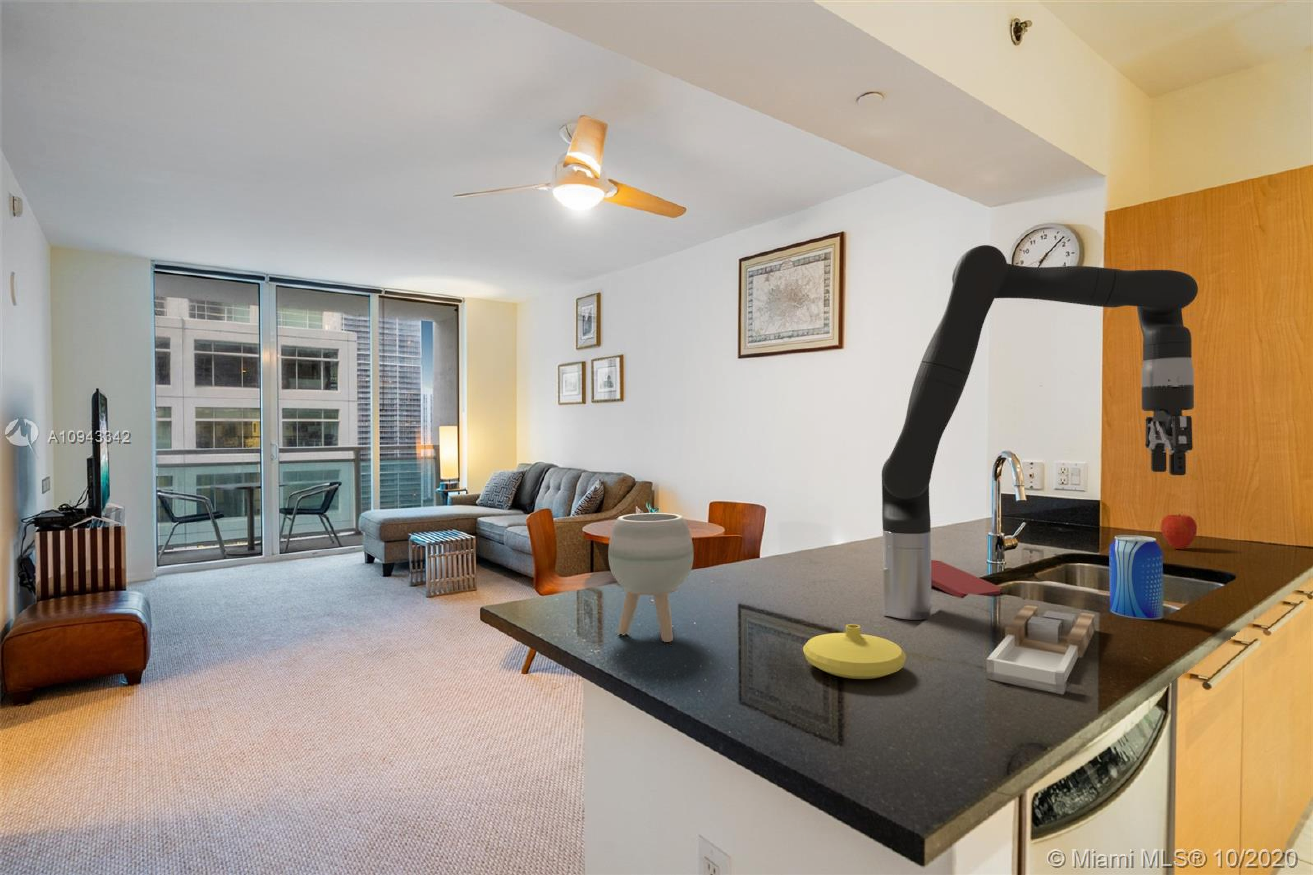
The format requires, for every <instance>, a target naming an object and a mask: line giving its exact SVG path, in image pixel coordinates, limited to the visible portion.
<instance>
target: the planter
mask: <svg viewBox="0 0 1313 875" xmlns="http://www.w3.org/2000/svg"><path fill="white" fill-rule="evenodd" d="M689 528H690V527H689V525H688V524H687V521H686V519H685V518H684V516H683V515H681V514H676V513H669V512H668V513H665V512H646V513H645V512H644V513H643V512H642V513H641V512H640V513H631V514H624V515H621V516H618V518H616V521H615V522H614V525H613V527H612V530H611V531H610V536H609V537H610V538H609V543H608V549H607V550H608V551H607V552H608V553H607V554H608V565H609V569H610V571H611V573H612V576H613V577H614V579H615V580H616V581H617V583H619V585H620V586H621V587H622V588H623V589H625V591H626V592H625V598H624V602H623V607H622V611H621V615H620V619H619V623H618V628H617V634H619V633H621V634H627V633H628V634H629V633H630V629H631V626H632V624H633V623H632V622H633V620H634V617H635V613H636V609H637V606H638V602H639V599H640V596H653V600H654V605H655V610H656V617H657V623H658V627H659V633H660V638H661V640H662V642H663V641H664V642H663V643H665V642H670V643H672V642H671V641H674V640H673V639H674V633H673V626H672V623H673V622H672V614H671V605H670V598H669V594H670V593H674V592H676V591H678V589H679V587H680V586H682V584H683V583H684V582H685V581H686V580H687V578H688V576H689V575H690V573H691V571H692V568H693V565H694V544H693V539H692V538H693V537H692V535H691V532H690V529H689ZM628 634H627V635H628Z"/></svg>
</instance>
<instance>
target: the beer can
mask: <svg viewBox="0 0 1313 875" xmlns="http://www.w3.org/2000/svg"><path fill="white" fill-rule="evenodd" d="M1108 550H1109V552H1108V554H1109V558H1108V559H1109V564H1108V565H1109V566H1108V567H1109V568H1108V569H1109V611H1110V613H1112V614H1115V615H1117V616H1120V617H1125V618H1131V619H1136V620H1161V619H1162V618H1163V617H1164V578H1163V577H1164V568H1163V565H1164V564H1163V562H1164V561H1163V560H1164V559H1163V555H1164V554H1163V550H1162V548H1161V547H1160V545H1159V544H1158V542H1157V539H1156V538H1155V537H1151V536H1146V535H1133V534H1132V535H1131V534H1119V535H1115V536H1114V540H1113V541H1112V542H1111V544H1110V546H1109V548H1108Z"/></svg>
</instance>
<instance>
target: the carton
mask: <svg viewBox="0 0 1313 875" xmlns="http://www.w3.org/2000/svg"><path fill="white" fill-rule="evenodd" d="M931 586H932V587H935V588H937V589H939V590H940V591H943V592H945V593H946V594H947V593H948V594H950V595H952V596H953V597H956V598H959V599H964V598H965V597H967V596H968V595H978V596H984V597H985V596H987V597H993V596H999V595H1000V594H1001V593H1002V590H1003V587H1001V586H998V585H996V584H994V583H992V582H990V581H988V580H985V579H982V578H980V577H978V576H976V575H974V574H972V573H968V572H966V571H964V570H962V569H959V568H957V567H955V566H953V565H950V564H947V563H945V562H944V561H942V560H937V559H936V560H935V559H931Z"/></svg>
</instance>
